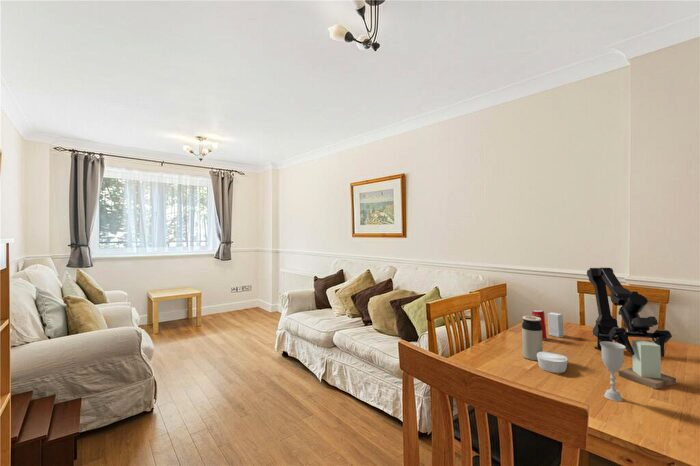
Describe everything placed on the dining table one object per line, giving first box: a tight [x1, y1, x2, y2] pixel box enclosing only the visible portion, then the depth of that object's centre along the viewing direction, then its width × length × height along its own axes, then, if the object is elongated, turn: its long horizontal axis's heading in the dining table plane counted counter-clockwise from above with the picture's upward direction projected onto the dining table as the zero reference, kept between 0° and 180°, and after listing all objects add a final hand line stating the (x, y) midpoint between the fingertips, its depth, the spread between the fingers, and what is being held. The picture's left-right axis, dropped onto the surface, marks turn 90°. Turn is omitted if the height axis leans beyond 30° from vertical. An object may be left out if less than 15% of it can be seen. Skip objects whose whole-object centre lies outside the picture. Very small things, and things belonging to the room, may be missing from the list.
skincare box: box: [547, 312, 565, 338], centre depth 180 cm, size 6×4×12 cm
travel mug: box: [521, 315, 544, 361], centre depth 150 cm, size 8×8×18 cm
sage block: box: [631, 339, 662, 378], centre depth 126 cm, size 6×6×12 cm
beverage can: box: [531, 309, 548, 341], centre depth 176 cm, size 6×6×15 cm
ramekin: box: [537, 351, 569, 374], centre depth 138 cm, size 11×11×5 cm
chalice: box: [600, 341, 626, 402], centre depth 113 cm, size 7×7×18 cm
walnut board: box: [618, 366, 677, 390], centre depth 126 cm, size 12×12×2 cm
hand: (648, 355), depth 125 cm, fingers open, 9 cm apart
